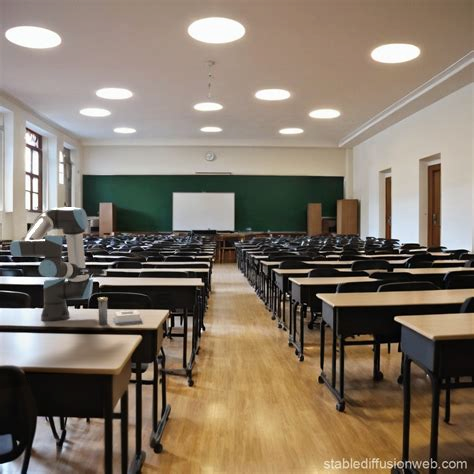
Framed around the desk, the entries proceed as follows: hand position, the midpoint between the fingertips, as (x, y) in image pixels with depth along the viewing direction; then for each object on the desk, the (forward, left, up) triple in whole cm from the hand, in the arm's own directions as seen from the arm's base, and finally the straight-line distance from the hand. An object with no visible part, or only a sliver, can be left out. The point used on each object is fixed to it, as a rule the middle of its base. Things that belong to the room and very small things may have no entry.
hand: (94, 273), depth 232 cm
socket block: (-4, +17, -27) cm, 32 cm away
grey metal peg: (-2, +4, -27) cm, 28 cm away
